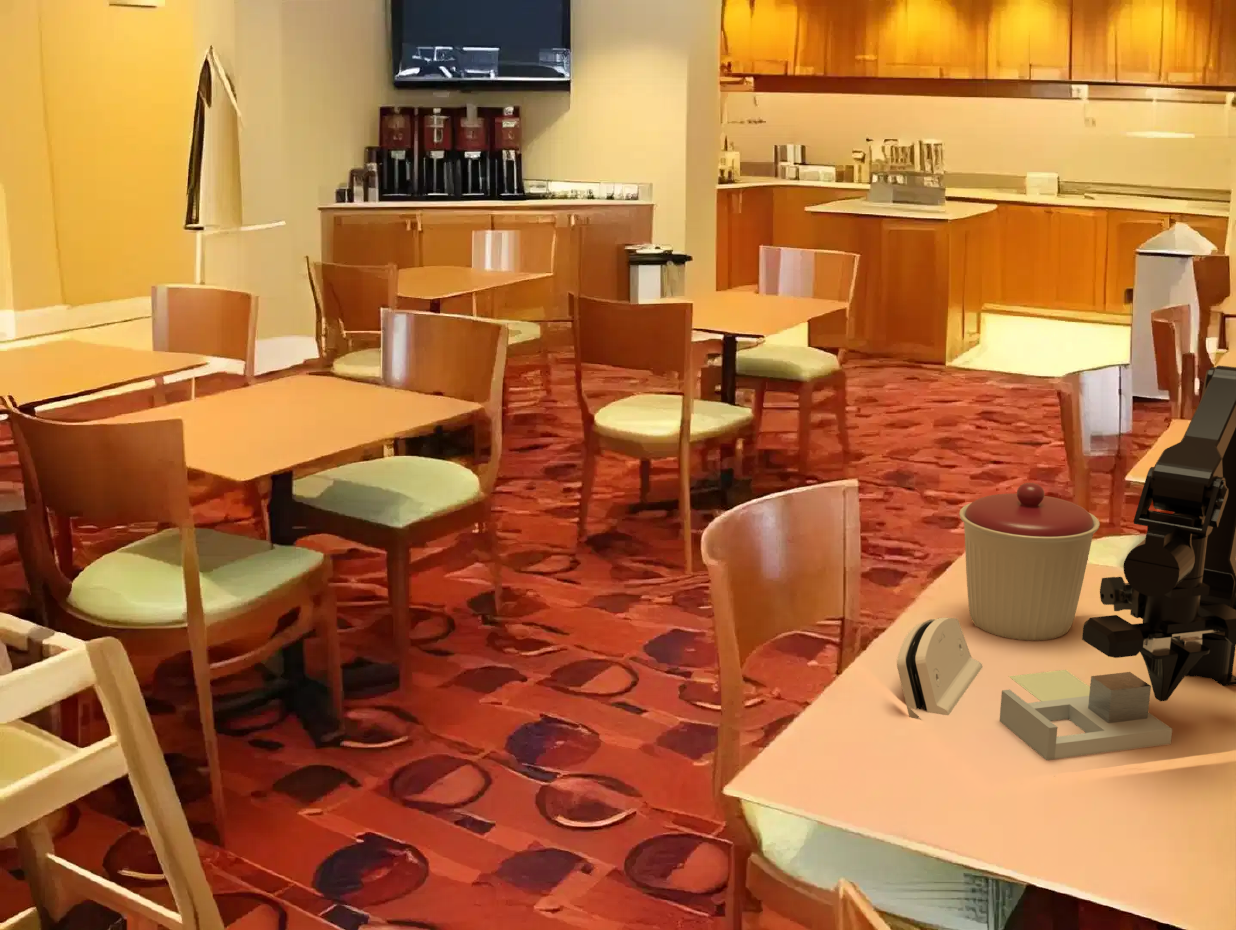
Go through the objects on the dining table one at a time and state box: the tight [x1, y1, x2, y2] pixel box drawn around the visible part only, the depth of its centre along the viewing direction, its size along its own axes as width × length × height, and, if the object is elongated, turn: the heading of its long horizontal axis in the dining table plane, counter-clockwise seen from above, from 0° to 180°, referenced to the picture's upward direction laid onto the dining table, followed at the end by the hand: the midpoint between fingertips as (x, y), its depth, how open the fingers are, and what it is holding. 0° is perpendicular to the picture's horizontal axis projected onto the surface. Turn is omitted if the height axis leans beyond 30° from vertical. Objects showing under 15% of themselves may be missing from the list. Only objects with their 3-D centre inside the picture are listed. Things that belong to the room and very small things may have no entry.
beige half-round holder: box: [896, 617, 983, 719], centre depth 166 cm, size 17×5×10 cm, turn 151°
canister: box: [958, 482, 1101, 642], centre depth 184 cm, size 18×18×21 cm
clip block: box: [1088, 671, 1152, 723], centre depth 154 cm, size 5×4×4 cm
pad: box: [1008, 669, 1090, 702], centre depth 166 cm, size 8×8×1 cm
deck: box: [999, 688, 1173, 761], centre depth 153 cm, size 16×10×5 cm, turn 104°
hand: (1160, 699), depth 155 cm, fingers closed
